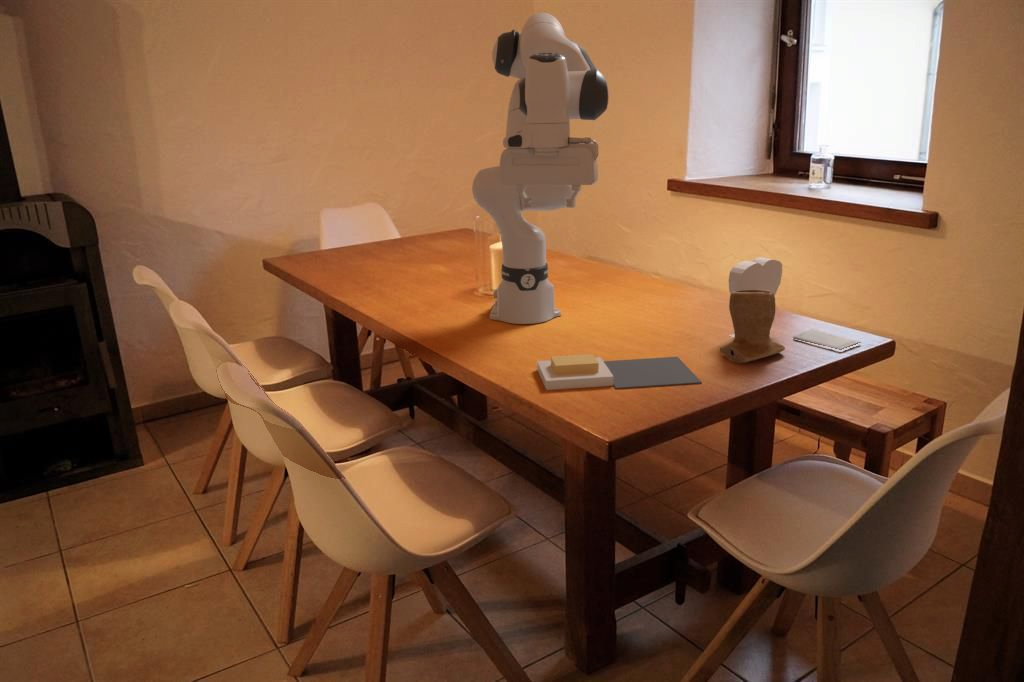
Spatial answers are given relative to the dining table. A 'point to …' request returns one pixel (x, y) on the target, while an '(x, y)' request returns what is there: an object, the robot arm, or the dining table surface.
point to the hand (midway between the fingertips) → (548, 206)
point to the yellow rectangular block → (574, 364)
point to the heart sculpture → (756, 275)
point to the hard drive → (825, 339)
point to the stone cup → (751, 326)
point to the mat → (650, 372)
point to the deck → (574, 377)
